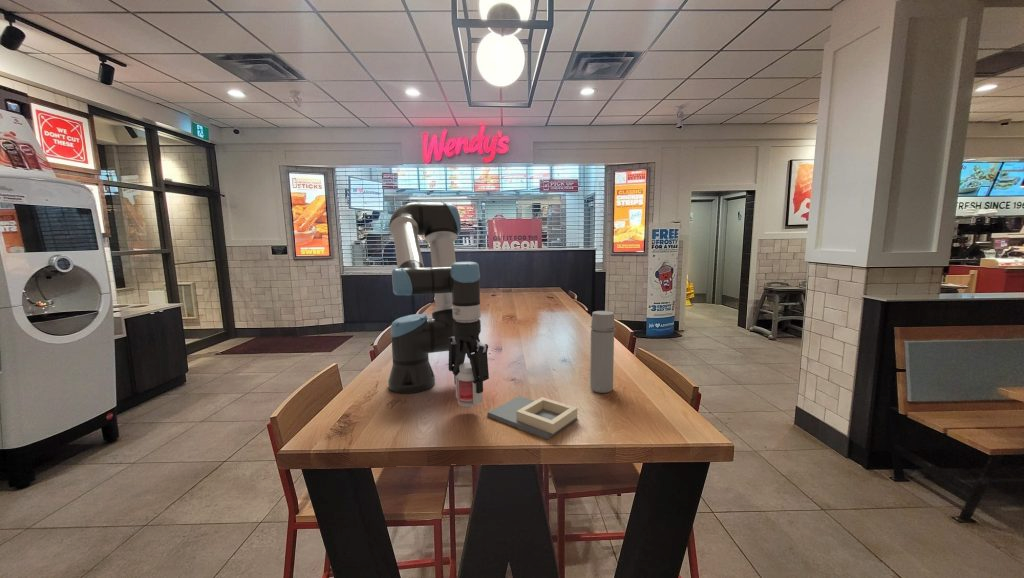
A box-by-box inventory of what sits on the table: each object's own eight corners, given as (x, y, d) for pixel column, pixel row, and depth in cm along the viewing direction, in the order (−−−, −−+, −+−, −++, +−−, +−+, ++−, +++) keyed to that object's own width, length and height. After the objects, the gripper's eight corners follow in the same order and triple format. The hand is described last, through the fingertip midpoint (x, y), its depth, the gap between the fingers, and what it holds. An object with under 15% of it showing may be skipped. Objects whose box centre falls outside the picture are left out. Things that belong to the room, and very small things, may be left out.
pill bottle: (483, 404, 108) (483, 366, 106) (463, 410, 104) (462, 370, 102) (473, 396, 113) (472, 359, 111) (454, 401, 109) (452, 364, 108)
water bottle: (604, 396, 118) (606, 316, 115) (584, 389, 124) (585, 312, 121) (621, 388, 124) (623, 312, 121) (601, 381, 130) (602, 308, 127)
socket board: (487, 416, 107) (487, 403, 106) (519, 399, 117) (519, 387, 117) (550, 440, 93) (550, 426, 93) (579, 419, 104) (579, 406, 103)
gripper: (433, 316, 108) (436, 394, 112) (482, 327, 96) (484, 415, 99) (453, 312, 114) (455, 386, 117) (502, 322, 101) (503, 404, 105)
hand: (468, 399), depth 108 cm, fingers closed on pill bottle, 6 cm apart
